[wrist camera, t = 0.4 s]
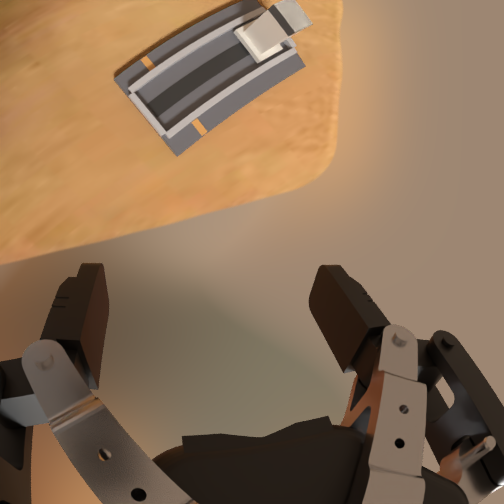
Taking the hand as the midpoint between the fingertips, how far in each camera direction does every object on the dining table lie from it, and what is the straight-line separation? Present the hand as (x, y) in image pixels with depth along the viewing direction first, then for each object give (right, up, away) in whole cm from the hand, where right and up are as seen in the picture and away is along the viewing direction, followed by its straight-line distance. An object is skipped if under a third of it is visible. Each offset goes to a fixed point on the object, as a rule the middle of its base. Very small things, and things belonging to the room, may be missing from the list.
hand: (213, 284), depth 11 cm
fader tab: (+2, +26, +19) cm, 32 cm away
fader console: (-3, +23, +20) cm, 30 cm away
